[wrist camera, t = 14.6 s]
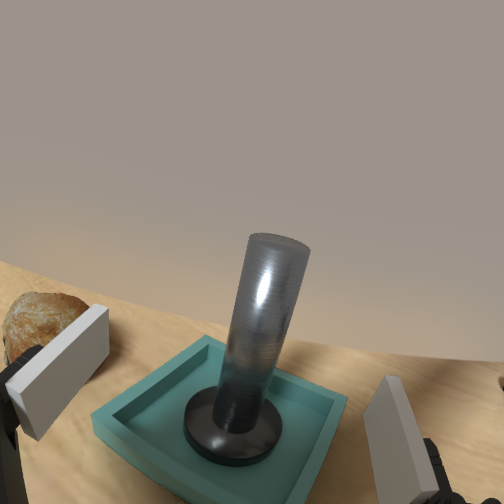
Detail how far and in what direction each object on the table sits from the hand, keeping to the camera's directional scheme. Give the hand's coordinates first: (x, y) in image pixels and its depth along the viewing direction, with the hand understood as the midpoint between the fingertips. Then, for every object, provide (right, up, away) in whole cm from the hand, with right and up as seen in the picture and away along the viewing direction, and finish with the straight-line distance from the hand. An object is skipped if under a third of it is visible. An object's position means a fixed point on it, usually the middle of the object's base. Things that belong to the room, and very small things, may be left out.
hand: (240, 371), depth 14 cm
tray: (-1, -8, +7) cm, 11 cm away
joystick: (-1, -8, +7) cm, 11 cm away
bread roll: (-17, -4, +10) cm, 20 cm away
